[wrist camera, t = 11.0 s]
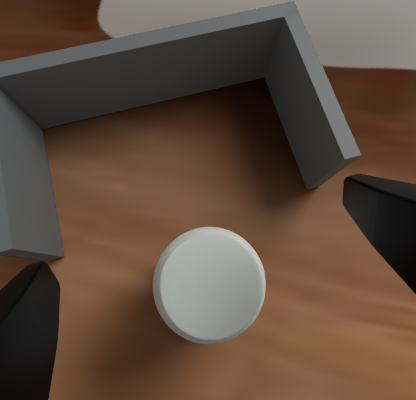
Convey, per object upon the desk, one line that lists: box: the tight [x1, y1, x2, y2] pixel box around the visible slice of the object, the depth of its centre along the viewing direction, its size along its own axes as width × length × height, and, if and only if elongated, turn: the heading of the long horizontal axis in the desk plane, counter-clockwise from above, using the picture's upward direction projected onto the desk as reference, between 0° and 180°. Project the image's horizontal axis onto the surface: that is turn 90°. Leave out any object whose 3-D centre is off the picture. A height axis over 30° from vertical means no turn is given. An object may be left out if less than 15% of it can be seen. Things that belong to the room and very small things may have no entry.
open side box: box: [0, 1, 361, 261], centre depth 20 cm, size 11×20×6 cm, turn 106°
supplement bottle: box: [153, 227, 266, 344], centre depth 16 cm, size 5×5×10 cm
